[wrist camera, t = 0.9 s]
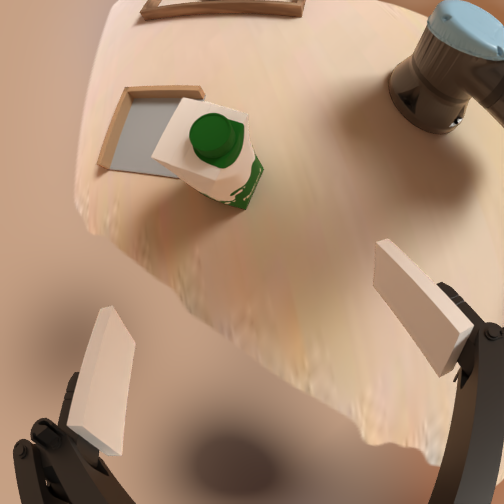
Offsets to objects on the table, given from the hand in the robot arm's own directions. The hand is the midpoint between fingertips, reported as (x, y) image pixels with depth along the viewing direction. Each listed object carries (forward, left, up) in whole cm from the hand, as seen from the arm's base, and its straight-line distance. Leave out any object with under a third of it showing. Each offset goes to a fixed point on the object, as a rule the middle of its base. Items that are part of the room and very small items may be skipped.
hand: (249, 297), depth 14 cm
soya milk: (-12, -10, -30) cm, 34 cm away
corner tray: (-19, -27, -30) cm, 45 cm away
